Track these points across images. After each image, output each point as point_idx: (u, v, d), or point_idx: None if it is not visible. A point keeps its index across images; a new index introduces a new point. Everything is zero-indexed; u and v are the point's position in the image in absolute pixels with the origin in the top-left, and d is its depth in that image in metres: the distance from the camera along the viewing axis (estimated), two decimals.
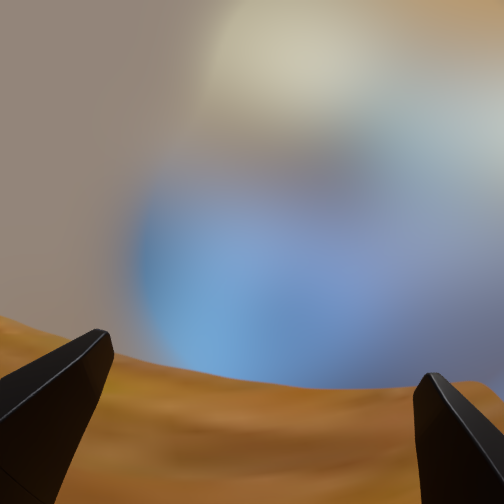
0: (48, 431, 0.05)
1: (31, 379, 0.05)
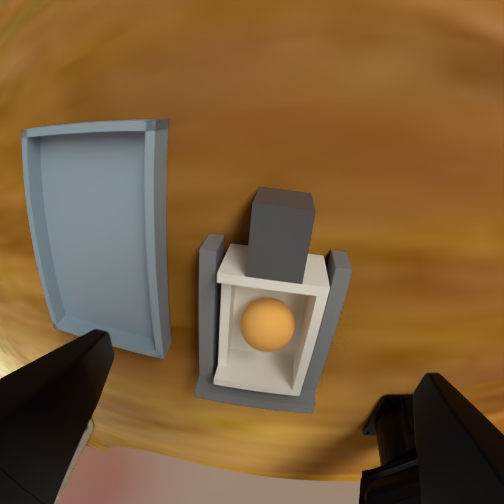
0: (48, 431, 0.05)
1: (31, 379, 0.05)
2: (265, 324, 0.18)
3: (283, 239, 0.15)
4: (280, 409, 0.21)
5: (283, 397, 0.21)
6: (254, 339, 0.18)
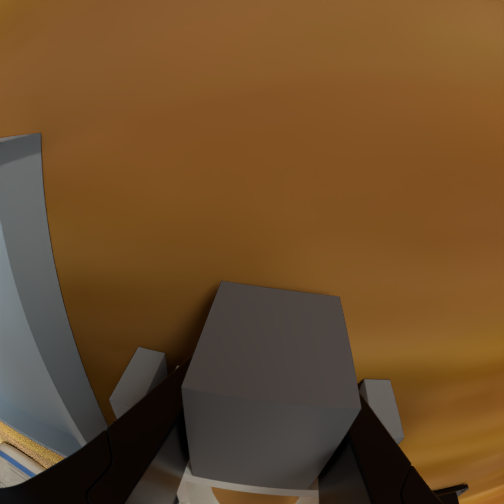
0: (166, 476, 0.05)
1: (149, 424, 0.05)
2: None
3: (271, 449, 0.05)
4: None
5: None
6: None
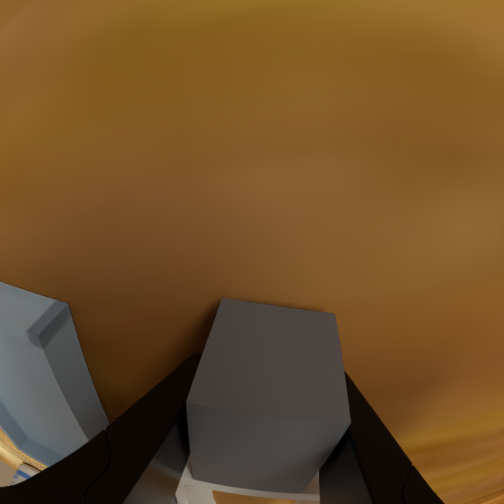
0: (165, 476, 0.05)
1: (148, 423, 0.05)
2: None
3: (267, 456, 0.06)
4: None
5: None
6: None
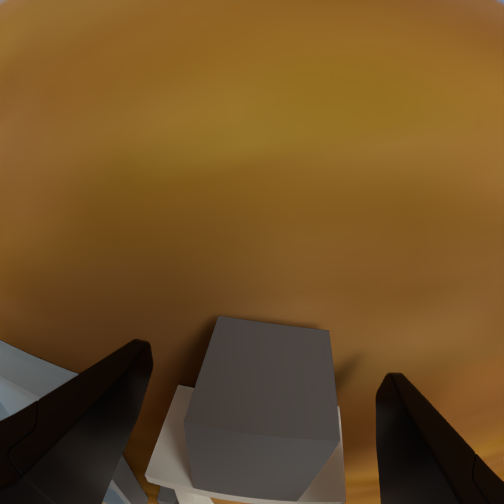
0: (93, 452, 0.05)
1: (75, 398, 0.05)
2: None
3: (262, 469, 0.06)
4: None
5: None
6: None
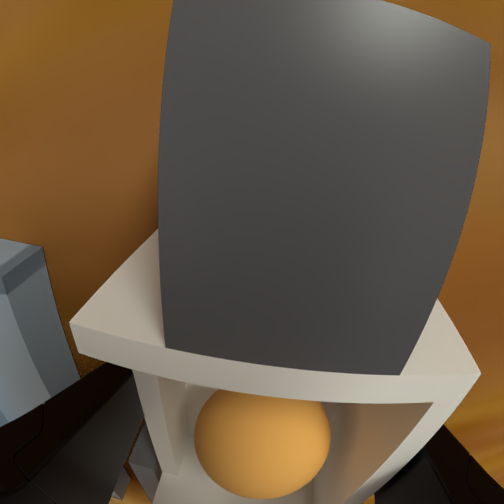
0: (99, 454, 0.05)
1: (81, 401, 0.05)
2: (254, 475, 0.05)
3: (350, 171, 0.03)
4: None
5: None
6: (226, 489, 0.06)
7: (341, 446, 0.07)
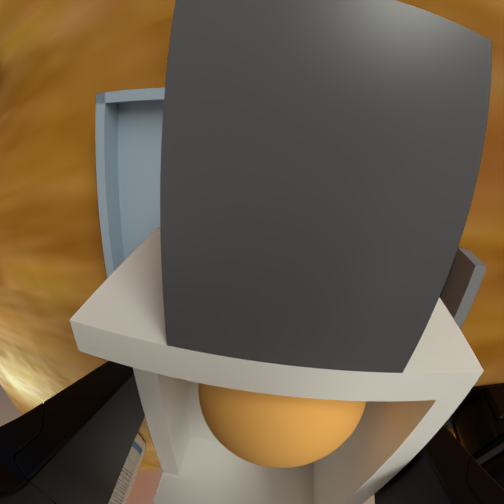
0: (99, 454, 0.05)
1: (81, 401, 0.05)
2: None
3: (355, 166, 0.03)
4: None
5: None
6: None
7: (342, 445, 0.07)
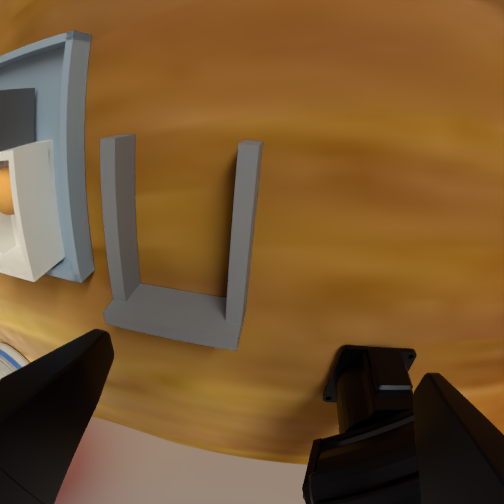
0: (48, 431, 0.05)
1: (31, 379, 0.05)
2: (4, 168, 0.15)
3: None
4: (197, 342, 0.18)
5: (200, 326, 0.18)
6: None
7: None
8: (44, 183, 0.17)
